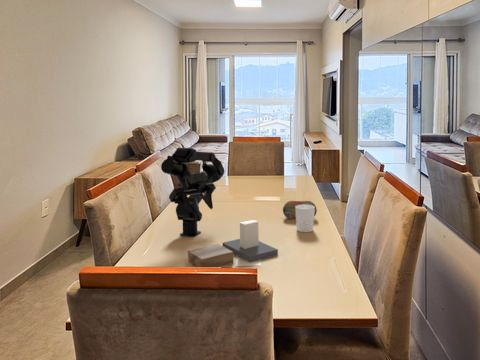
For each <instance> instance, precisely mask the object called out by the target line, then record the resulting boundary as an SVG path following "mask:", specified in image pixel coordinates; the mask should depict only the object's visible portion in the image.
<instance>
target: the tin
mask: <svg viewBox="0 0 480 360" xmlns="http://www.w3.org/2000/svg"><path fill="white" fill-rule="evenodd" d="M297 205H312V206H314V207H315V210H314V217H316V215H317V213H318V212H317V211H318V209H317V206H316V204H315V203H314V202H312V201H310V200H289V201H286V203H284V205H283V208H282V213H283V215H284V217H285V218H287V219H289V220H296V210H295V206H297Z"/></svg>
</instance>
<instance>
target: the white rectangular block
mask: <svg viewBox="0 0 480 360" xmlns="http://www.w3.org/2000/svg"><path fill="white" fill-rule="evenodd" d="M239 239H240V247H242V248H244V249H246V248H250V247H255V246H259V241H260V239H259V221H257V220H255V219H251V220H246V221H240V222H239Z"/></svg>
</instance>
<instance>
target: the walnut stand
mask: <svg viewBox="0 0 480 360" xmlns="http://www.w3.org/2000/svg"><path fill="white" fill-rule="evenodd" d="M187 255H188V256H187V260H188V263H189V264H191V265H192V266H193V267H195V268H197V267H216V268H219V267H224V266H227V265H231V264H234V254H233V251H231V250H229V249H227V248H225V247H223V245H222V244H219V243H217V244H212V245H207V246H203V247H198V248H195V249H190V250H187Z"/></svg>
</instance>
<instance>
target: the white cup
mask: <svg viewBox="0 0 480 360" xmlns="http://www.w3.org/2000/svg"><path fill="white" fill-rule="evenodd" d="M295 210H296V219H295V224H296V231H297V232H300V233H310V232H313V231H314V224H315V223H314V222H315V216H314V210H315V207H314V206H312V205H297V206H295Z"/></svg>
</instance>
